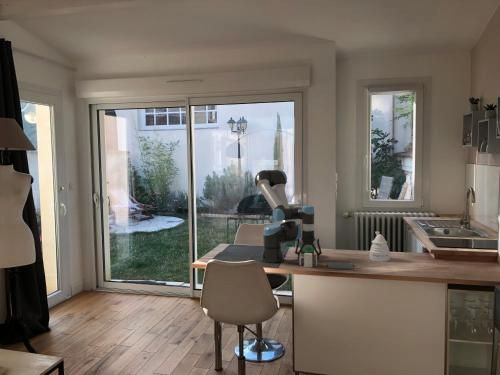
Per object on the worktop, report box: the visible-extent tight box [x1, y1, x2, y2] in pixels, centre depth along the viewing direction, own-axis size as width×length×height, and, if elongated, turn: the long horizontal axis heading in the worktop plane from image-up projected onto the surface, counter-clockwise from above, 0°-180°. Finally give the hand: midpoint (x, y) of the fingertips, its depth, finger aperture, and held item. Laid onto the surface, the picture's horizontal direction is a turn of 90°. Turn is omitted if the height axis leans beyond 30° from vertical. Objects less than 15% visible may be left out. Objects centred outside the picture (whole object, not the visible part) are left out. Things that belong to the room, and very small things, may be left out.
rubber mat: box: [327, 262, 354, 270], centre depth 264 cm, size 15×13×1 cm
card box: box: [303, 253, 313, 268], centre depth 267 cm, size 5×9×7 cm, turn 171°
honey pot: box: [369, 231, 391, 262], centre depth 281 cm, size 13×13×18 cm
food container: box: [299, 241, 317, 258], centre depth 291 cm, size 12×6×10 cm, turn 112°
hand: (308, 265), depth 267 cm, fingers open, 9 cm apart
